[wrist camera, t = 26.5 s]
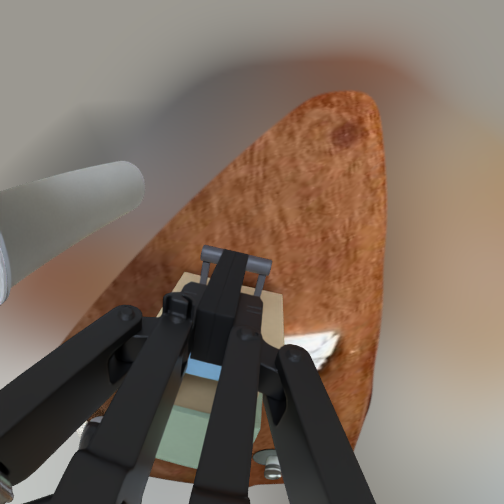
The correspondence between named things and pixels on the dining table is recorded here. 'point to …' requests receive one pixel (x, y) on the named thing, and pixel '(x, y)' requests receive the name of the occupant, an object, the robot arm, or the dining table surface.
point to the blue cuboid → (203, 369)
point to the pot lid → (269, 463)
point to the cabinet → (190, 435)
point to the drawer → (272, 329)
